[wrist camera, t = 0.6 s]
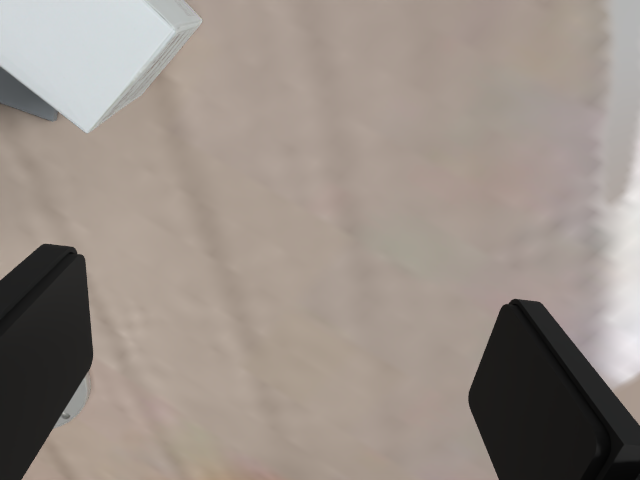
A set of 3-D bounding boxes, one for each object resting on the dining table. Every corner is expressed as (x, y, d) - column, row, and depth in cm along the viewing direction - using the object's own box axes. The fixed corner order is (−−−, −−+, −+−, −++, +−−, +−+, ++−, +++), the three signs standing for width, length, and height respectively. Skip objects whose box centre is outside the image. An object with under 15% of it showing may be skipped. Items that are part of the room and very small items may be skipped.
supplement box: (53, 19, 32) (-61, 23, 21) (119, -68, 30) (35, -115, 19) (142, 97, 35) (85, 138, 24) (207, 23, 33) (179, 28, 22)
